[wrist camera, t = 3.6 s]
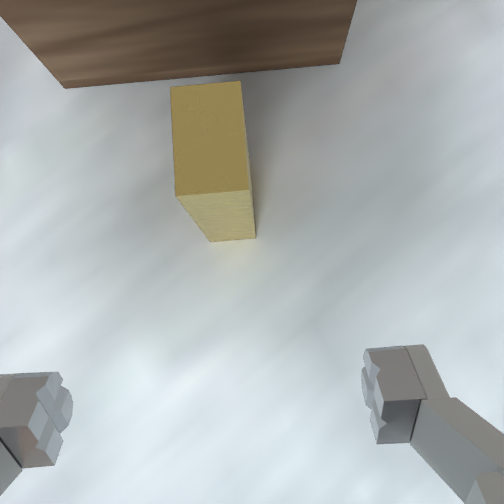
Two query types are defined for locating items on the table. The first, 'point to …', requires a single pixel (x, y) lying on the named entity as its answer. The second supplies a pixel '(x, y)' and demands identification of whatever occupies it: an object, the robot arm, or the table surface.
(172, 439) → the table surface
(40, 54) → the box
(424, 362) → the robot arm
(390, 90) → the table surface
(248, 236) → the gold rectangular block
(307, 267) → the table surface
